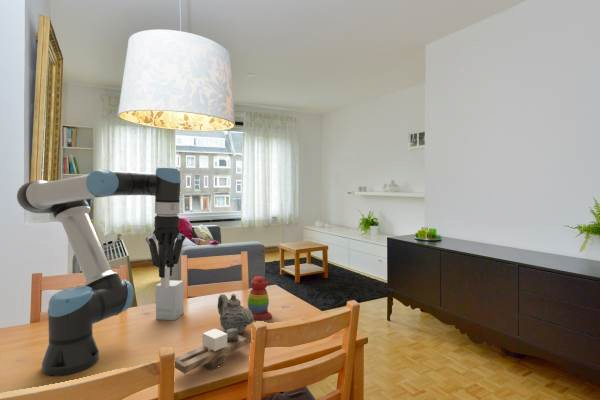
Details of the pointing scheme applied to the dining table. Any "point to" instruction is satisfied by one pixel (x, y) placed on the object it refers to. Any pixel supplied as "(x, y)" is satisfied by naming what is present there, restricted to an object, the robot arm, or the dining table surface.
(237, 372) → the dining table surface
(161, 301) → the supplement box
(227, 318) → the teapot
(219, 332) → the rider
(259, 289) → the stacking bear
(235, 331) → the beam
